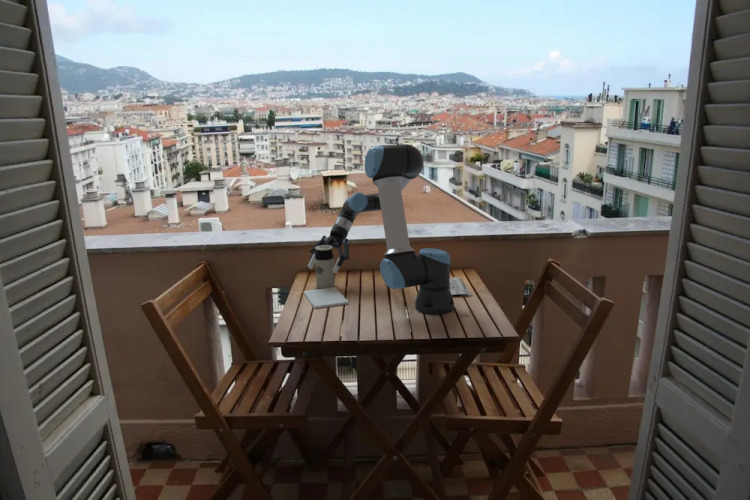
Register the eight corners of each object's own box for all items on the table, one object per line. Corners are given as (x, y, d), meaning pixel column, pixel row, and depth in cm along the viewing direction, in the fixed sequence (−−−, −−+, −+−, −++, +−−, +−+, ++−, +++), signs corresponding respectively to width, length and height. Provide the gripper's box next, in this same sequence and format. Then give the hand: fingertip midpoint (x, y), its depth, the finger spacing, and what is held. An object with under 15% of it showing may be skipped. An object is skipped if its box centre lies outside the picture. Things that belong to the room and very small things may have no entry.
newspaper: (472, 298, 228) (472, 292, 227) (443, 301, 228) (442, 295, 228) (465, 280, 250) (464, 275, 249) (438, 283, 250) (437, 278, 250)
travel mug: (328, 282, 250) (326, 244, 245) (338, 286, 244) (336, 247, 239) (313, 286, 245) (311, 247, 240) (323, 290, 239) (321, 250, 234)
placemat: (348, 304, 222) (348, 301, 222) (314, 308, 218) (314, 306, 218) (335, 289, 241) (335, 287, 240) (303, 293, 236) (303, 291, 236)
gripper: (367, 236, 245) (348, 278, 237) (322, 231, 258) (303, 270, 250) (360, 227, 240) (341, 269, 231) (315, 222, 253) (295, 261, 244)
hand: (321, 269), depth 241 cm, fingers open, 13 cm apart
